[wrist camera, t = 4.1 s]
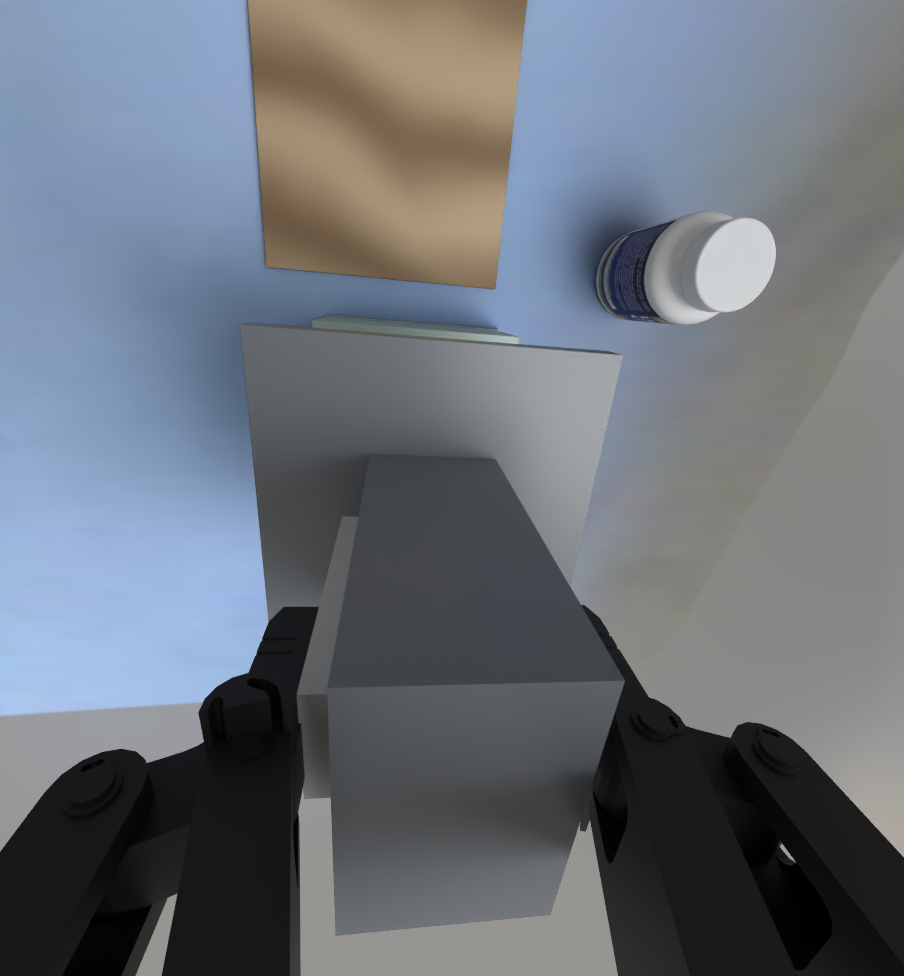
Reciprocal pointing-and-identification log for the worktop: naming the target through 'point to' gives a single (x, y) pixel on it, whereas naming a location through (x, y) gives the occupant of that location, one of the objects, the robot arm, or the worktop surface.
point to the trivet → (386, 134)
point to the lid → (441, 604)
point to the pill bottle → (686, 268)
